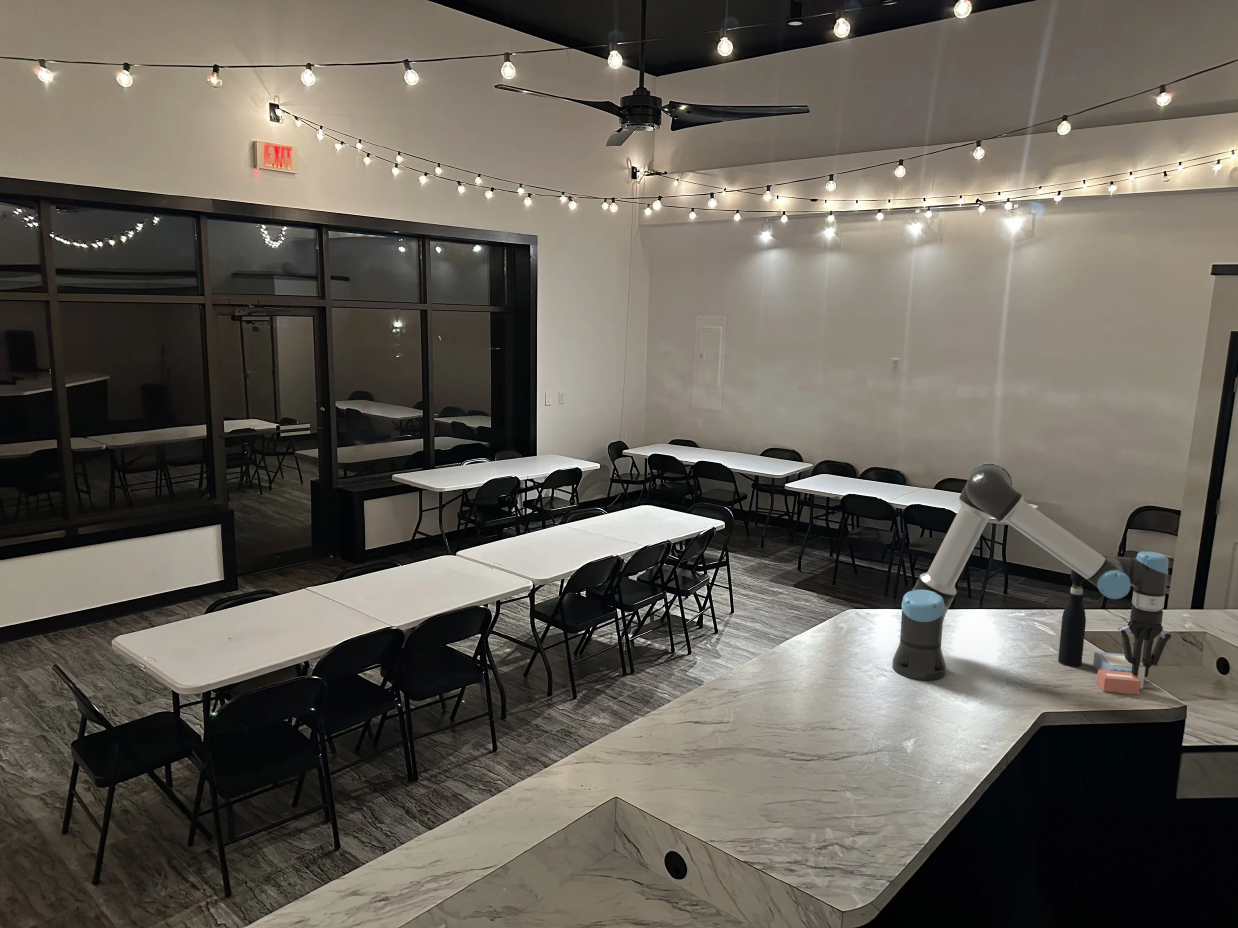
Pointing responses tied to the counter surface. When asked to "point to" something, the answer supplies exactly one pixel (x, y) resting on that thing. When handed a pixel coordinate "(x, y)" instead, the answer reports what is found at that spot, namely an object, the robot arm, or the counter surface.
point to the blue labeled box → (1111, 662)
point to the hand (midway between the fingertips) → (1138, 686)
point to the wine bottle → (1073, 625)
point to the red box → (1118, 682)
